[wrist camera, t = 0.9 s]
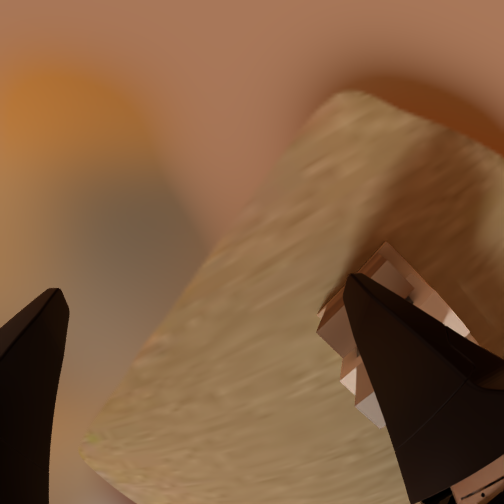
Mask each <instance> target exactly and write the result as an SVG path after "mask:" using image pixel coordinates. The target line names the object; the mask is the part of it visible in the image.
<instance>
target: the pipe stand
mask: <svg viewBox="0 0 504 504" xmlns="http://www.w3.org/2000/svg"><path fill="white" fill-rule="evenodd" d="M357 273H363V274H364V275H366V276H368V277H369V278H371V279H373V280H374V281H376V282H378V283H379V284H381V285H383V286H384V287H386V288H388V289H389V290H391V291H392V292H394V293H396V294H397V295H399V296H401V297H402V298H404V299H405V298H406V297H407V296H408V295H409V294H410V293H411V292H412V291H413V290H414V289H415V288H414V287H413V286H412V285H411V284H410V283H409V282H408V281H407V280H406V278H407V277H408V275H409V274H410V273H411V274H413V275H414V276H415V277H417V278H418V279H420V280H421V281H423V282H424V283H425V284H427V283H426V281H425V280H424V279H423V278H422V277H421V276H420V275H419V274H418V273H417V272H416V271H415V270H414V269H413V268H412V267H411V265H410V264H409V263H408V262H407V261H406V260H405V259H404V258H403V257H402V256H401V255H400V254H399V253H398V252H397V251H396V250H395V249H394V248H393V247H392V246H391V245H390V244H389V243H388V242H387V241H385V242H384V243H383V244H382V246H381V247H380V248H379V249H378V250H377V251H376V252H375V253H374V254H373V256H372V257H371V258H370V259H369V260H368V261H367V262H366V263H365V264H364V265H363V266H362V268H361V269H360V270H359V271H358V272H357ZM427 285H428V284H427ZM428 286H429V285H428ZM344 288H345V285H344V286H343V288H342V289H341V290H340V291H339V292H338V293H337V294H336V295H335V296H334V297H333V298H332V299H331V300H330V301H329V302H328V303H327V304H326V305H325V306H324V307H323V308H322V309H321V310H320V311H319V312H318V314H317V316H318V317H319V318H320V319H321V321H320V324H319V326H318V329H317V331H316V333H317V334H318V335H319V336H320V337H322V338H323V339H324V340H325V341H326V342H327V343H328V344H329V345H330V346H331V347H332V348H333V349H334V350H335V351H336V352H337V353H338V354H339V355H340V356H341V357H342V358H344V357H345V356H346V355H347V354H348V353H349V352H351V351H352V350H353V349H354V348H355V347H356V343H355V340H354V337H353V334H352V330H351V326H350V323H349V319H348V316H347V312H346V309H345V305H344V302H343V292H344ZM466 338H467V339H468V340H470V341H472V342H474V343H475V344H477V345H479V344H478V343H477V341H476V340H475V339H474V338H473V336H472V335H471V334H470V333H469V334H468V335H467V336H466ZM479 346H480V345H479Z"/></svg>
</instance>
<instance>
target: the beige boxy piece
mask: <svg viewBox="0 0 504 504" xmlns="http://www.w3.org/2000/svg"><path fill="white" fill-rule="evenodd" d="M406 280H407V281H408V282H409V283H410V284H411V285H412V286H413V287H414V288H415V289H414V290H413V291H412V292H411V293H410V294H409V295H408V296H407V297H406V298H405V300H407V301H409V302H410V303H412V304H413V305H415V306H417V307H418V308H420V309H421V310H423V311H424V312H426V313H428V314H429V315H431V316H432V317H434V318H435V319H437V320H439V321H440V322H442V323H443V324H445V326H448V327H449V328H451V329H452V330H454V331H456V332H457V333H459V334H460V335H462V336H463V337H466V336H467V335H468V334H469V333H470V331H469V330H468V329H467V327H466V326H465V325H464V324H463V322H462V321H461V320H460V319H459V318H458V316H457V315H456V314H455V313H454V312H453V310H452V309H451V308H450V307H449V306H448V305H447V303H446V302H445V301H444V300H443V299H442V298H441V297H440V295H439V294H438V293H437V292H436V291H435V290H434V289H432V288H431V287H430V286H428V285H427V284H425V283H424V282H423V281H421V280H420V279H418V278H417V277H415V276H414V275H413V274H411V273H410V274H409V275H408V277H407V278H406ZM340 382H341V383H342V384H343V385H344V386H345V387H347V388H348V389H349V390H350V391H351V392H352V393H353V394H354V395H355V407H356V408H357V409H358V410H359V411H361V412H362V413H363V414H364V415H365V416H366V417H367V418H368V419H369V420H371V421H372V422H373V423H374V424H375V425H376V426H377V427H379V428H380V429H381V428H383V427H384V426H386V424H385V421H384V418H383V415H382V412H381V409H380V406H379V404H378V401H377V398H376V395H375V393H374V390H373V387H372V385H371V382H370V379H369V377H368V374H367V371H366V369H365V366H364V363H363V361H362V358H361V356H360V353H359V351H358V348H357V346H356V347H355V348H354V349H353V350H352V351H351V352H349V353H348V354H347V355H346V356H345V357H344V358H343V360H342V368H341V375H340Z"/></svg>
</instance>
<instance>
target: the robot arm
mask: <svg viewBox="0 0 504 504" xmlns="http://www.w3.org/2000/svg"><path fill="white" fill-rule="evenodd" d="M343 302H344V305H345V309H346V312H347V316H348V319H349V323H350V326H351V330H352V334H353V337H354V340H355V343H356V346H357V348H358V351H359V353H360V356H361V358H362V361H363V363H364V366H365V369H366V371H367V374H368V377H369V379H370V382H371V385H372V387H373V390H374V393H375V395H376V398H377V401H378V404H379V406H380V409H381V412H382V415H383V418H384V421H385V424H386V427H387V429H388V432H389V435H390V438H391V441H392V444H393V448H394V450H395V454H396V457H397V461H398V464H399V467H400V470H401V473H402V477H403V480H404V483H405V487H406V490H407V494H408V497H409V501H410V503H411V504H415V503H417V502H420V501H421V504H504V360H503V359H502V358H500V357H498V356H496V355H495V354H493V353H491V352H489V351H488V350H486V349H484V348H482V347H480V346H479V345H477V344H475V343H474V342H472V341H470V340H468V339H467V338H465V337H463V336H462V335H460V334H459V333H457V332H456V331H454V330H452V329H451V328H449V327H448V326H445V324H443V323H442V322H440V321H439V320H437V319H435V318H434V317H432V316H431V315H429V314H428V313H426V312H424V311H423V310H421V309H420V308H418V307H417V306H415V305H413V304H412V303H410V302H409V301H407V300H405V299H404V298H402V297H401V296H399V295H397V294H396V293H394V292H392V291H391V290H389V289H388V288H386V287H384V286H383V285H381V284H379V283H378V282H376V281H374V280H373V279H371V278H369V277H368V276H366V275H364V274H363V273H351V274H349V275H348V277H347V281H346V284H345V288H344V292H343ZM68 321H69V307H68V305H67V303H66V300H65V298H64V295H63V293H62V291H61V289H59V288H49V289H47V290H46V291H45V292H43V293H42V294H41V295H40V296H38V297H37V298H36V299H34V300H33V301H32V302H31V303H30V304H28V305H27V306H26V307H25V308H23V310H21V311H20V312H19V313H17V314H16V315H15V316H14V317H13V318H12V319H10V320H9V321H8V322H7V323H6V324H5V325H3V326H2V327H1V328H0V504H49V459H50V443H51V434H52V425H53V416H54V409H55V402H56V395H57V389H58V384H59V377H60V373H61V368H62V362H63V357H64V350H65V343H66V335H67V328H68Z"/></svg>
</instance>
